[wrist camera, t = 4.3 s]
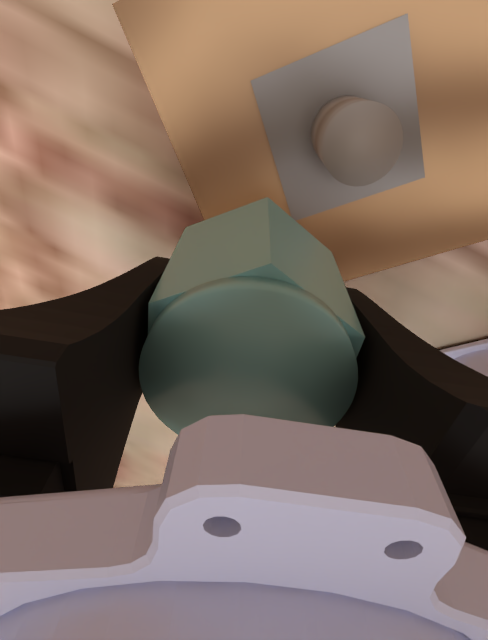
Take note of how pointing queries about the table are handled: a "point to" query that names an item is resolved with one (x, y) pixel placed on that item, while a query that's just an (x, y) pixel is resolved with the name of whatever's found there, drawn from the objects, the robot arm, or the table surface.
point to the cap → (250, 324)
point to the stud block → (328, 115)
